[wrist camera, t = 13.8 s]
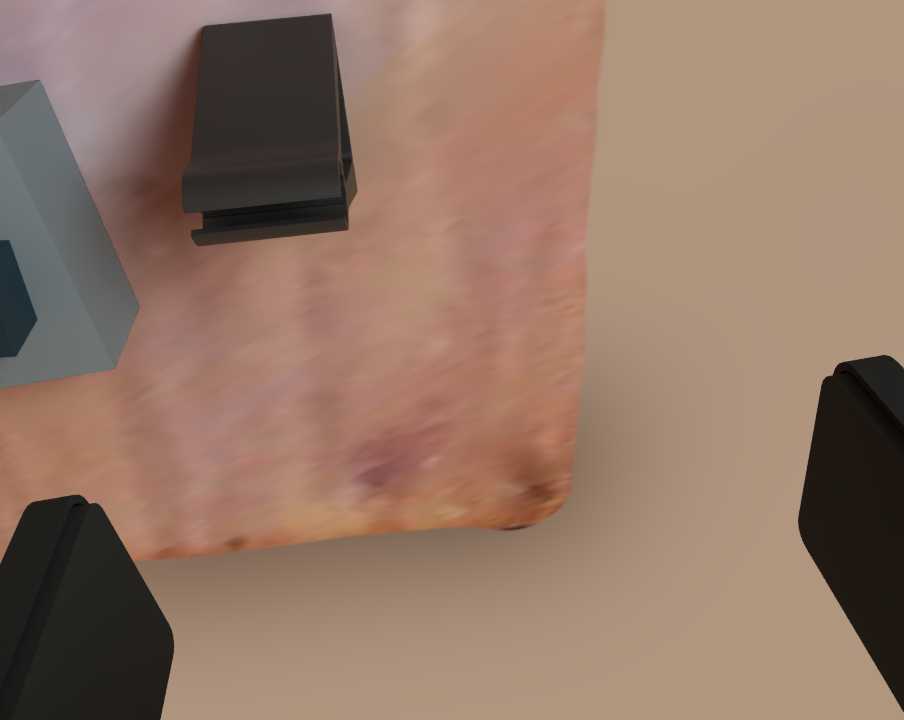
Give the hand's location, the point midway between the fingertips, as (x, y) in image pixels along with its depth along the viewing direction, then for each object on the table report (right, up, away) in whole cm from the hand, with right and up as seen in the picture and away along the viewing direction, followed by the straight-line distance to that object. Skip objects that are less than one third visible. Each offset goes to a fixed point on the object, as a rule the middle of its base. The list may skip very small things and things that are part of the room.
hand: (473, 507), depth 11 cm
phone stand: (-9, +15, +30) cm, 34 cm away
